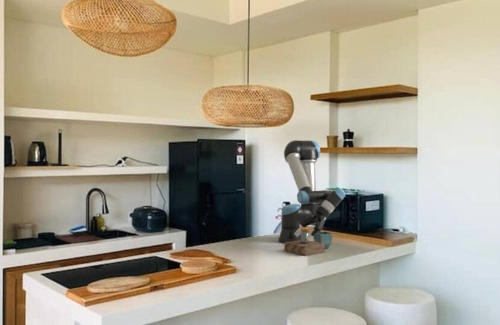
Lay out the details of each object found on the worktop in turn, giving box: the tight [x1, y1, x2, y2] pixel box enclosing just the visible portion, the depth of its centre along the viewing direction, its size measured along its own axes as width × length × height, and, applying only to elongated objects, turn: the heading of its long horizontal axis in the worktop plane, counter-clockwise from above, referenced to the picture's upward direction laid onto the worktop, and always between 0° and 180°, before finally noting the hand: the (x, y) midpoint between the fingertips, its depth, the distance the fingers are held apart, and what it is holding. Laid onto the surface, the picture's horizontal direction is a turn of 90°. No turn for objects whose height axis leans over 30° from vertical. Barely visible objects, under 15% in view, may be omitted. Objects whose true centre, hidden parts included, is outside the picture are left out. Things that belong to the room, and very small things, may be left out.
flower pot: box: [313, 231, 334, 249], centre depth 282 cm, size 9×9×9 cm
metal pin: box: [301, 226, 309, 244], centre depth 269 cm, size 4×4×14 cm
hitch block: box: [283, 240, 326, 257], centre depth 269 cm, size 16×16×5 cm
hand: (301, 237), depth 268 cm, fingers open, 13 cm apart
